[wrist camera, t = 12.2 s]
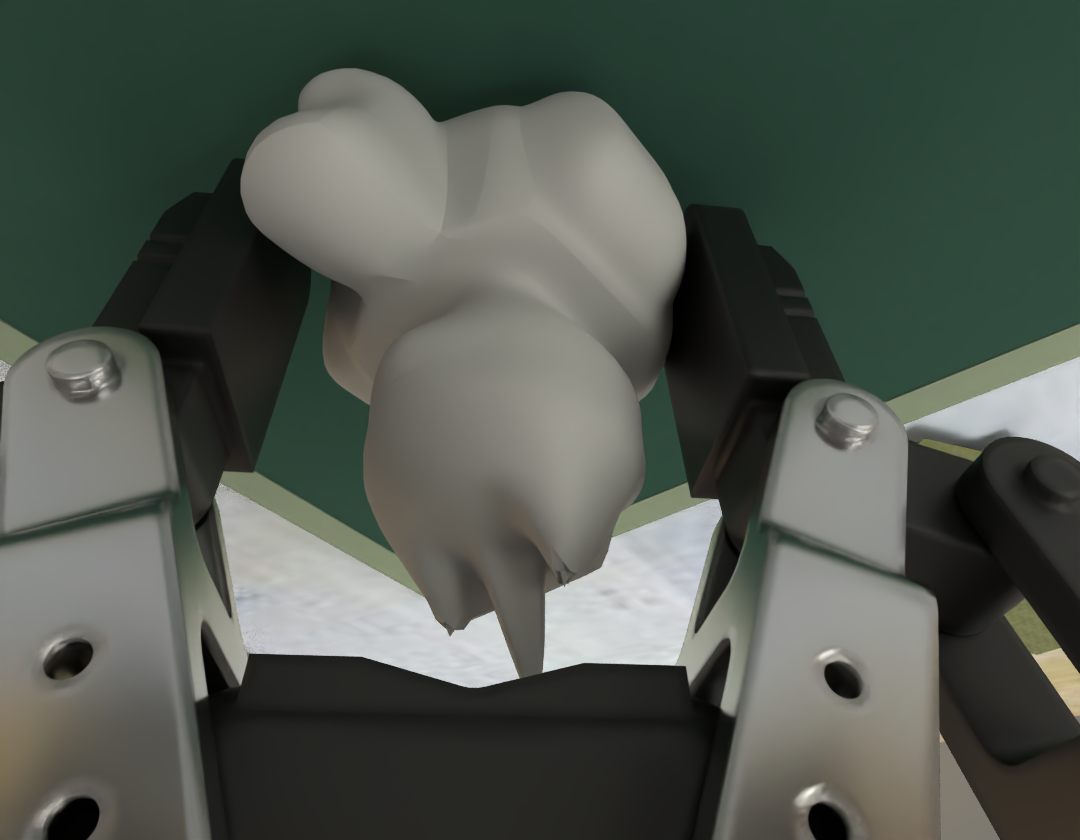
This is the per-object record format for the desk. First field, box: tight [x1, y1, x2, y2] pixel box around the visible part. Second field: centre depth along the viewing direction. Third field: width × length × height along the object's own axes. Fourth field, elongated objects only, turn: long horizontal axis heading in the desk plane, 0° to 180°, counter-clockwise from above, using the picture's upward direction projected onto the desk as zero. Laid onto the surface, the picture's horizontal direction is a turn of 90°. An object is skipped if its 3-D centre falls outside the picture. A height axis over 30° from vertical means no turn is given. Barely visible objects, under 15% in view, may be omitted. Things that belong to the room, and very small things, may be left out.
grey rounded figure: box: [241, 68, 686, 678], centre depth 9 cm, size 5×7×8 cm
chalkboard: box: [0, 0, 1080, 597], centre depth 11 cm, size 20×20×1 cm
